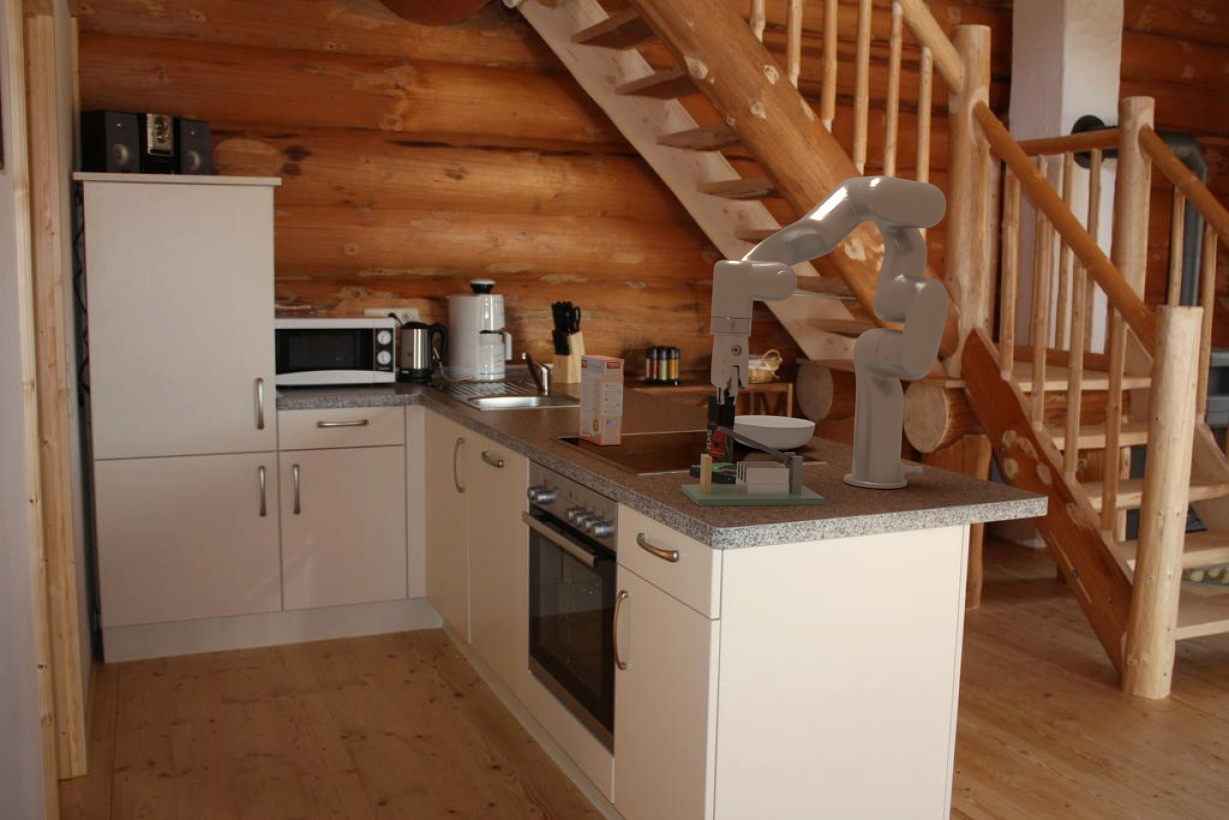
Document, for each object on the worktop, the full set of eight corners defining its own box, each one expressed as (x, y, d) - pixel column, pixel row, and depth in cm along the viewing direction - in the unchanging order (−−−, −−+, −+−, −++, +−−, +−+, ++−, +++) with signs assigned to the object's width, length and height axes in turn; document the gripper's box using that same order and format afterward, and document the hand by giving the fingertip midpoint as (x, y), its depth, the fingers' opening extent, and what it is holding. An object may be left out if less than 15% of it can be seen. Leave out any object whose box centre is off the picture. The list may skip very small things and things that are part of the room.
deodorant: (737, 462, 260) (740, 395, 258) (721, 465, 256) (724, 397, 254) (716, 459, 264) (719, 393, 262) (700, 462, 260) (702, 394, 258)
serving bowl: (804, 458, 269) (806, 428, 268) (716, 451, 276) (718, 422, 275) (821, 446, 289) (822, 418, 288) (738, 439, 296) (739, 412, 295)
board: (800, 489, 230) (802, 448, 229) (824, 504, 216) (826, 460, 215) (681, 490, 226) (682, 448, 225) (698, 505, 212) (699, 461, 211)
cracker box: (622, 445, 280) (625, 358, 278) (599, 446, 278) (601, 358, 275) (600, 437, 293) (602, 353, 290) (578, 438, 291) (580, 354, 288)
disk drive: (773, 486, 237) (725, 473, 249) (774, 472, 236) (726, 460, 248) (734, 490, 231) (687, 477, 243) (735, 476, 231) (688, 464, 243)
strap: (793, 465, 223) (797, 457, 223) (797, 468, 220) (801, 459, 220) (715, 431, 220) (719, 422, 219) (719, 433, 217) (723, 424, 217)
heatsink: (775, 487, 226) (776, 461, 225) (788, 495, 218) (789, 468, 217) (735, 487, 224) (736, 461, 224) (747, 495, 217) (748, 468, 216)
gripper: (762, 330, 209) (755, 431, 211) (739, 326, 224) (733, 421, 226) (721, 328, 208) (715, 430, 210) (701, 324, 223) (695, 420, 225)
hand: (724, 425), depth 218 cm, fingers closed
